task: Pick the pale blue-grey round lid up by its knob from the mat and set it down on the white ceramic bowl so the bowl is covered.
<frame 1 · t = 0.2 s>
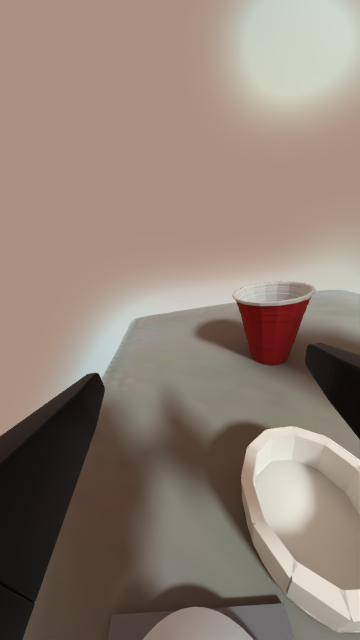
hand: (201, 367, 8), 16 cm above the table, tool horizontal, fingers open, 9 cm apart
plastic cup: (267, 354, 32), on the table
bowl: (304, 519, 14), on the table
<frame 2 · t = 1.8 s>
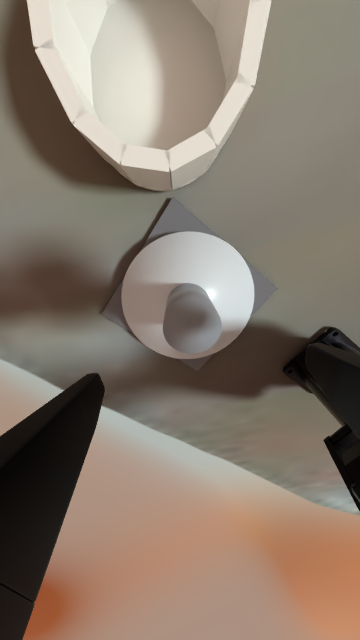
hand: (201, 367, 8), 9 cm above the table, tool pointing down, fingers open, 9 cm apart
bowl: (159, 102, 11), on the table
lid: (187, 301, 16), resting on mat
mat: (187, 300, 16), on the table
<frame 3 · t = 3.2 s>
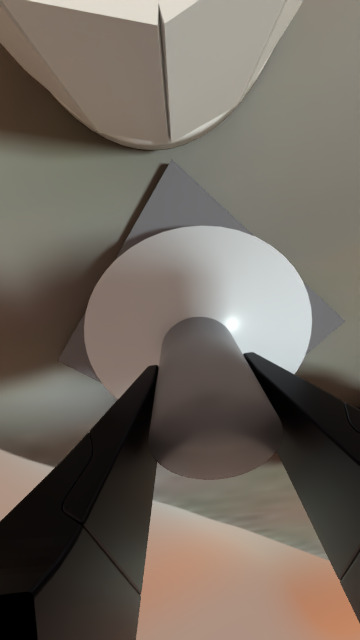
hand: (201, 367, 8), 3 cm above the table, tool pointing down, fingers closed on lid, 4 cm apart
lid: (196, 341, 10), resting on mat, touching gripper
mat: (195, 338, 10), on the table
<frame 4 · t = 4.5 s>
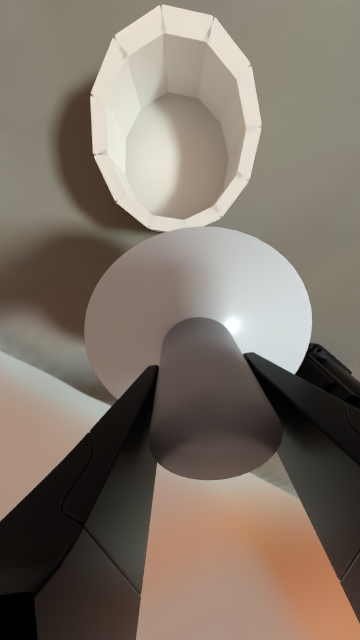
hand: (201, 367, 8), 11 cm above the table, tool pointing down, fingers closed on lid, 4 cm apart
bowl: (176, 169, 14), on the table
lid: (196, 342, 10), point 9 cm above the table, touching gripper
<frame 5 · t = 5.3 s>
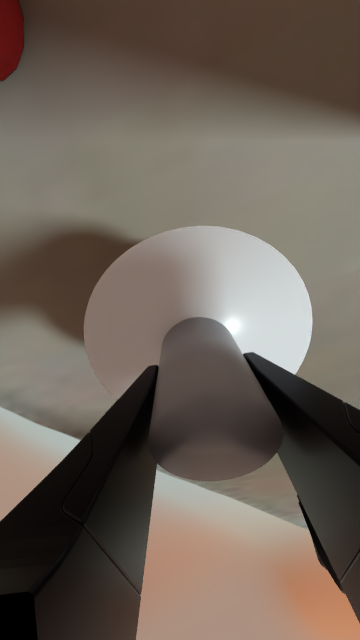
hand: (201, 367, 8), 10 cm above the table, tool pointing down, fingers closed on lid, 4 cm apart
lid: (196, 342, 10), point 8 cm above the table, touching gripper
when the fingers open (8 cm above the table, at t = 5.9 s): lid drops 1 cm, resting on bowl.
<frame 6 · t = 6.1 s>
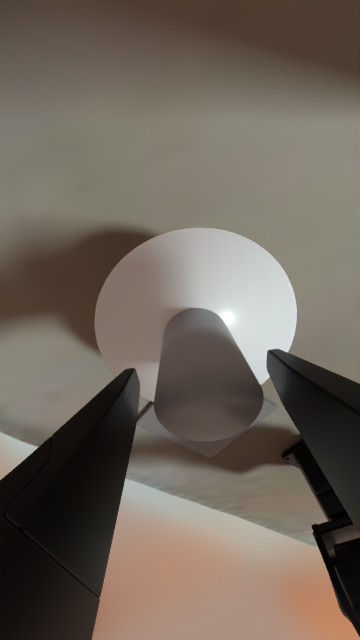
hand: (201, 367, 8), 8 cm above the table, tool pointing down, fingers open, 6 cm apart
lid: (194, 331, 11), point 4 cm above the table, touching bowl
mat: (204, 413, 20), on the table
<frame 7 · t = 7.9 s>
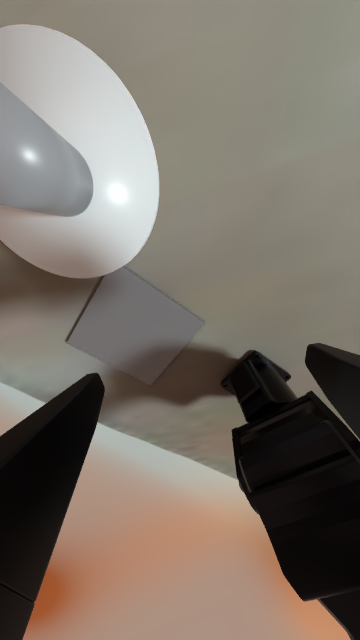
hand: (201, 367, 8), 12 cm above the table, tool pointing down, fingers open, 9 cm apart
lid: (68, 183, 11), point 4 cm above the table, touching bowl
mat: (135, 331, 20), on the table
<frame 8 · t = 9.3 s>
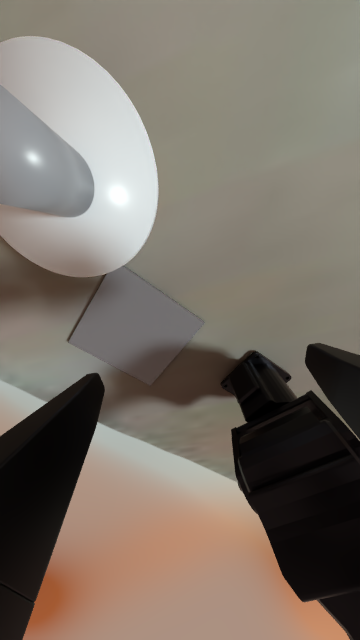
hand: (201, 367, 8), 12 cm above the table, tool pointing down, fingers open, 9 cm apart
lid: (70, 185, 11), point 4 cm above the table, touching bowl
mat: (135, 331, 21), on the table
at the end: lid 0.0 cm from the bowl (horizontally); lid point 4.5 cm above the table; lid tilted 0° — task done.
